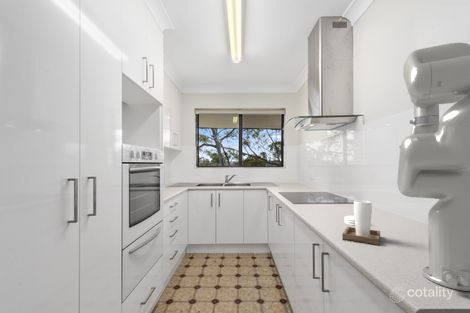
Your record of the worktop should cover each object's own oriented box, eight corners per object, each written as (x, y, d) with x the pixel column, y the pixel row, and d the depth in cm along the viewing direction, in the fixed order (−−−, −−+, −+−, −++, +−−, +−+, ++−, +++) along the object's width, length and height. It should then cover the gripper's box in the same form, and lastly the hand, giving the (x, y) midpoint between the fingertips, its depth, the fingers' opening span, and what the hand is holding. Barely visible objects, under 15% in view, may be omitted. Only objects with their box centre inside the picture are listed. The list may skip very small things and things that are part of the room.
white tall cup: (374, 240, 98) (373, 203, 98) (356, 239, 99) (355, 202, 100) (368, 235, 104) (368, 200, 105) (352, 234, 106) (351, 200, 106)
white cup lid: (360, 222, 131) (360, 215, 131) (369, 226, 121) (369, 219, 121) (341, 221, 132) (341, 215, 132) (348, 226, 122) (348, 219, 122)
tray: (378, 245, 93) (378, 239, 93) (342, 239, 100) (342, 233, 100) (380, 236, 104) (380, 231, 104) (347, 232, 111) (347, 226, 111)
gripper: (399, 123, 93) (400, 167, 93) (459, 118, 84) (460, 167, 84) (398, 125, 100) (399, 166, 99) (454, 121, 90) (455, 167, 90)
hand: (427, 167), depth 91 cm, fingers open, 9 cm apart
